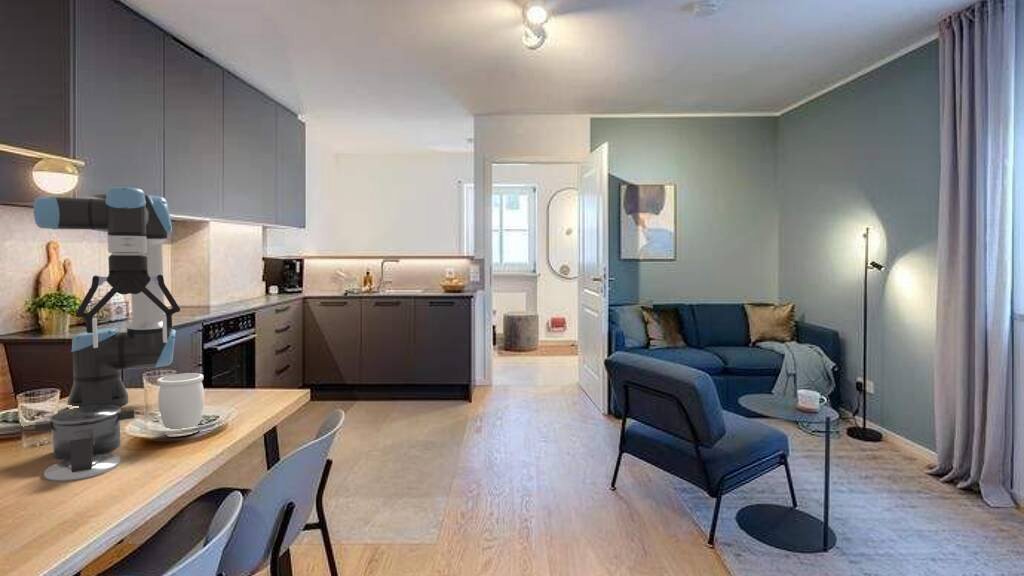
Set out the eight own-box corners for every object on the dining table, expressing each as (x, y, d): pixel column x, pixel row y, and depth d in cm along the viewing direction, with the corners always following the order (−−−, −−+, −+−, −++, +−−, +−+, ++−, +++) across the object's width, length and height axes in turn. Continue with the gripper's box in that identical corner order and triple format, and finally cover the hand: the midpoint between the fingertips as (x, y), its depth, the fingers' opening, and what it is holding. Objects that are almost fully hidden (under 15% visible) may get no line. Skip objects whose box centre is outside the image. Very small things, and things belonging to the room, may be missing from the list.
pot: (41, 448, 137) (39, 411, 136) (135, 434, 147) (134, 400, 146) (32, 466, 125) (30, 427, 125) (135, 450, 136) (133, 413, 135)
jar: (184, 441, 143) (182, 382, 142) (149, 437, 145) (147, 380, 144) (214, 427, 153) (212, 373, 152) (181, 425, 155) (179, 371, 154)
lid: (48, 466, 126) (46, 431, 126) (121, 454, 134) (119, 421, 133) (39, 487, 115) (37, 449, 115) (119, 473, 123) (117, 437, 122)
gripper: (58, 254, 121) (62, 351, 123) (190, 254, 136) (193, 341, 137) (61, 254, 127) (65, 347, 129) (187, 254, 142) (190, 338, 143)
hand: (131, 344), depth 133 cm, fingers open, 13 cm apart
